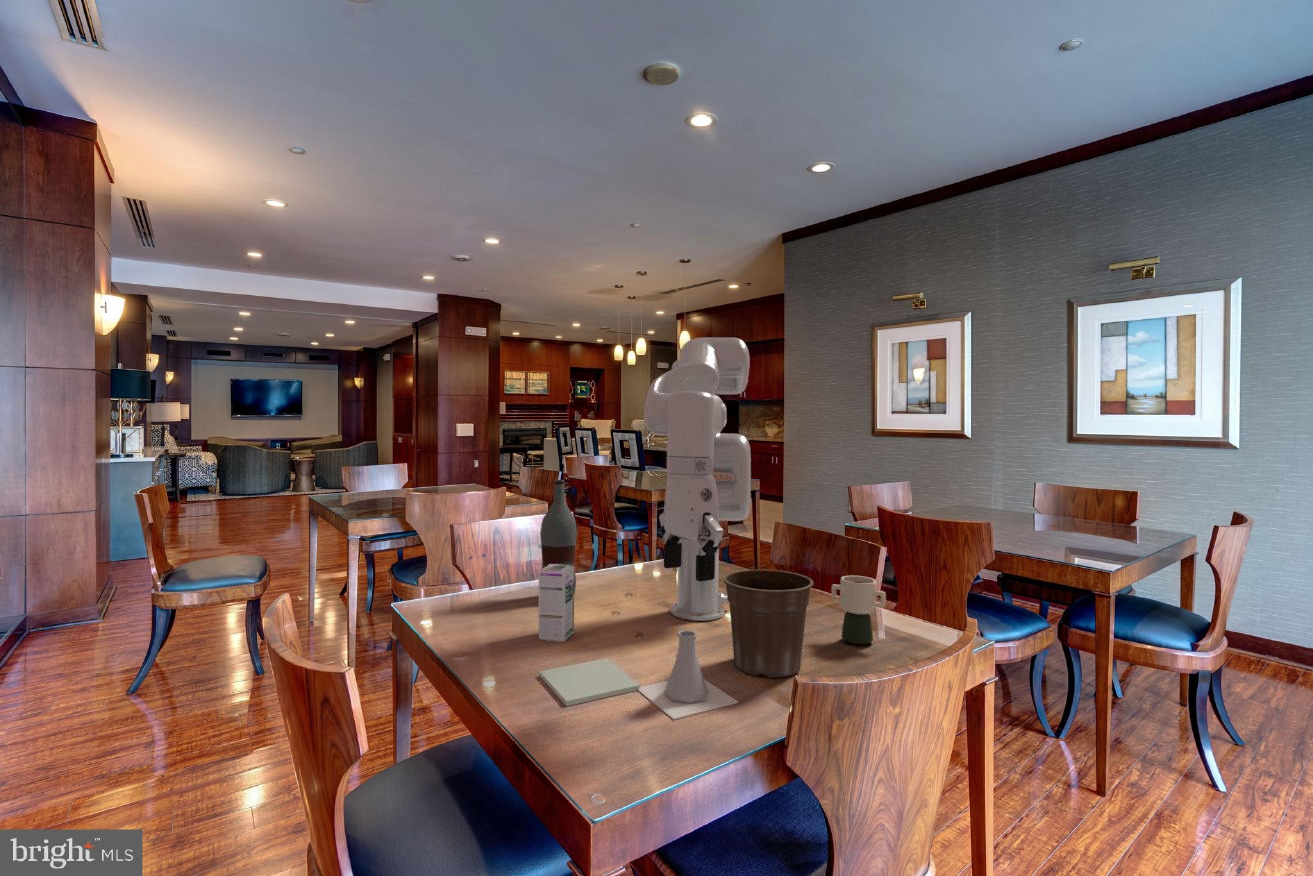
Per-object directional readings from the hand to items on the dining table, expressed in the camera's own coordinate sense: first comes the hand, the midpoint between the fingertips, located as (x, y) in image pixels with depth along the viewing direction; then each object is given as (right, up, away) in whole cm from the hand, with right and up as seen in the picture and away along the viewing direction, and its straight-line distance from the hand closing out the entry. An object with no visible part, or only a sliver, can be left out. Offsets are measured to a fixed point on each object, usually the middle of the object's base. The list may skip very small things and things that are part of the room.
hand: (688, 573), depth 98 cm
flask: (0, -20, 0) cm, 20 cm away
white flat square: (0, -20, 0) cm, 20 cm away
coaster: (-17, -20, +5) cm, 26 cm away
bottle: (-30, -19, +55) cm, 65 cm away
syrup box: (-26, -19, +27) cm, 42 cm away
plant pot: (+15, -20, +14) cm, 29 cm away
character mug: (+36, -20, +27) cm, 50 cm away
